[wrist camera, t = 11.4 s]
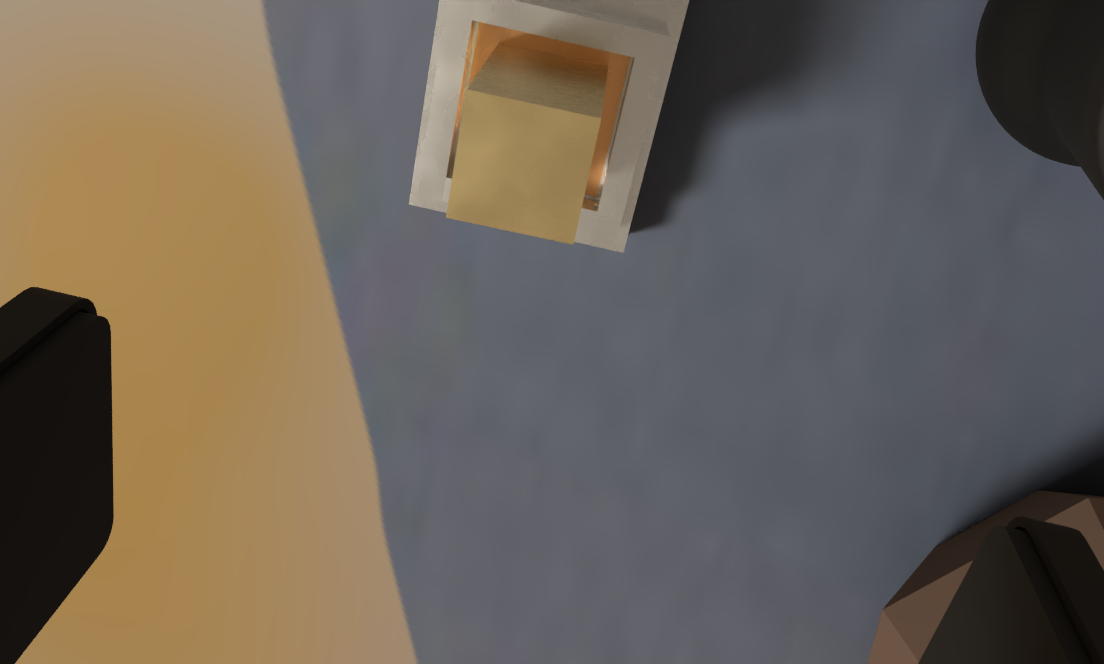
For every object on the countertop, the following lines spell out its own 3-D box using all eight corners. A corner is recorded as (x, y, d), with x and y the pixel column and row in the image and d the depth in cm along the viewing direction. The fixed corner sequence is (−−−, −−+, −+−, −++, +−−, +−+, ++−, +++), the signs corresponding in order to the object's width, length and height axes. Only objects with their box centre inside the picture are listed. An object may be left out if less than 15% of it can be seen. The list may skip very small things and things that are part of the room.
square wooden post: (499, 42, 37) (465, 89, 30) (608, 65, 37) (601, 118, 30) (481, 149, 39) (445, 217, 32) (585, 171, 39) (573, 244, 32)
